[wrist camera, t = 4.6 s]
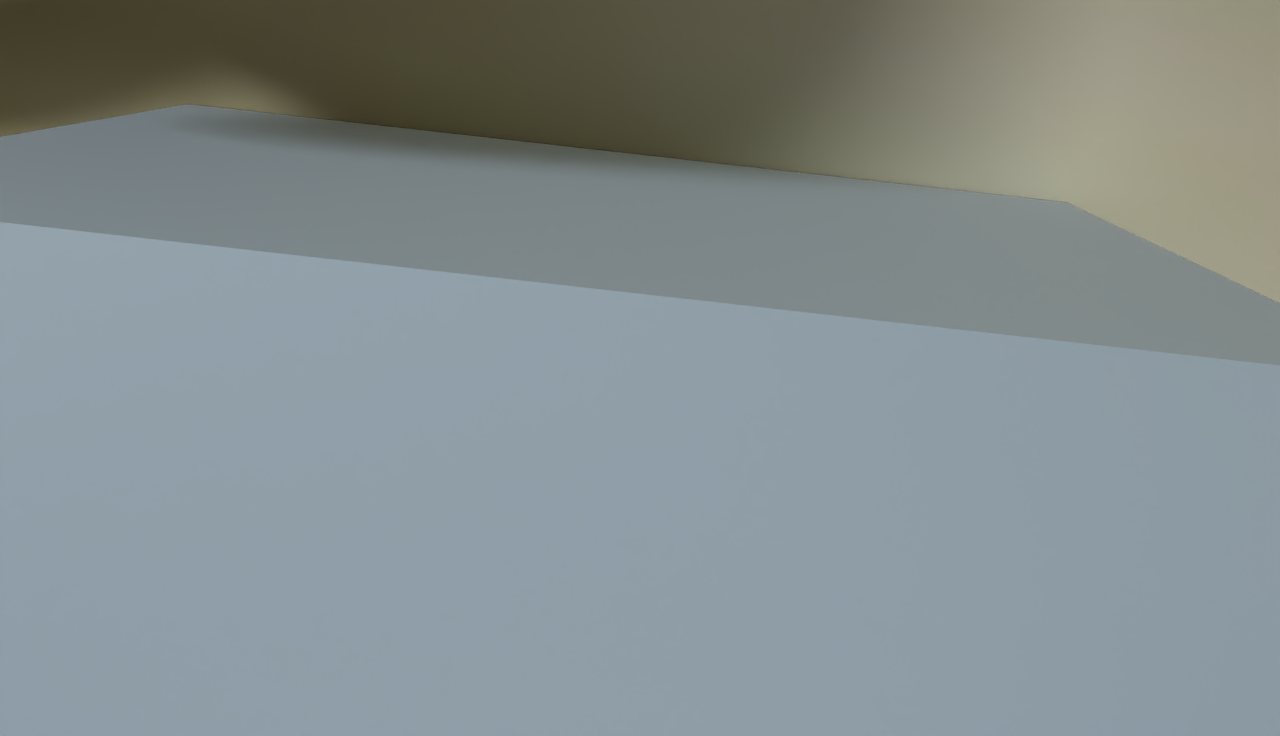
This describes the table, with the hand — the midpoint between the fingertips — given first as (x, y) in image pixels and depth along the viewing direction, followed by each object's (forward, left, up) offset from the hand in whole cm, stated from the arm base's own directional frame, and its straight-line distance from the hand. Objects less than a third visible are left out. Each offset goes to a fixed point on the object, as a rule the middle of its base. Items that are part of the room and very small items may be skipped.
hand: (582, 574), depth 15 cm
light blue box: (0, 0, 0) cm, 0 cm away
